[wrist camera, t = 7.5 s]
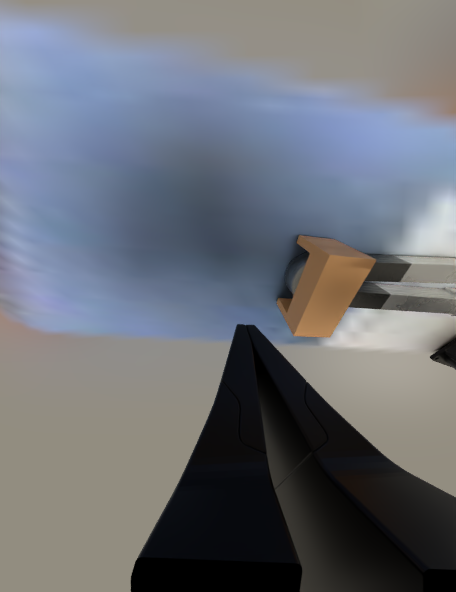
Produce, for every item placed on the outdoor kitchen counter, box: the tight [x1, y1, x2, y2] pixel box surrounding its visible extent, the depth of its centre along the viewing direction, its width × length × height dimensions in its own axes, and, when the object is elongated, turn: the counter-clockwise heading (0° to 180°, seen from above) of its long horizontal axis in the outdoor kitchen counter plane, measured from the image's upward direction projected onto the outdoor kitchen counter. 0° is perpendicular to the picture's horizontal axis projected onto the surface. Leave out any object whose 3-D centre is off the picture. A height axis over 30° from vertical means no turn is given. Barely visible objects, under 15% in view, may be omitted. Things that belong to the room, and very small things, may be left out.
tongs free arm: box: [364, 254, 456, 283], centre depth 15 cm, size 15×2×2 cm, turn 86°
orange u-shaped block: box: [277, 235, 376, 337], centre depth 14 cm, size 3×6×4 cm, turn 172°
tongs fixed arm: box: [284, 252, 456, 316], centre depth 16 cm, size 20×4×2 cm, turn 83°
